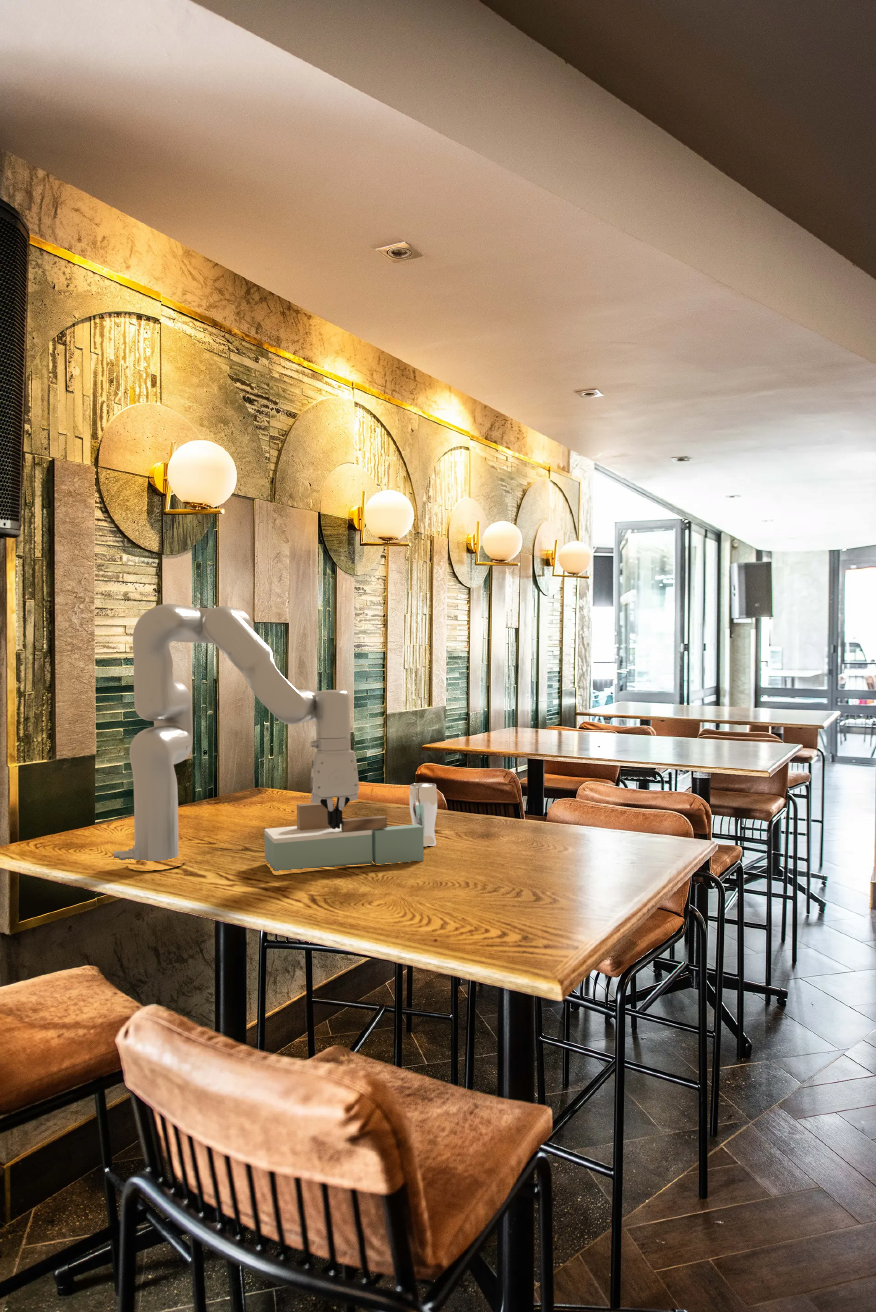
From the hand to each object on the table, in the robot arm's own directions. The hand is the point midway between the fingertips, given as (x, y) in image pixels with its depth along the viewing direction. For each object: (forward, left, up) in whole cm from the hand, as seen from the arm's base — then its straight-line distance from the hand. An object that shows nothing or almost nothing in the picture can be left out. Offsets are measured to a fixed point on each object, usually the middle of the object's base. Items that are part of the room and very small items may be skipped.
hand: (335, 827), depth 188 cm
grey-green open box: (+3, +5, -9) cm, 11 cm away
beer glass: (+26, +14, -9) cm, 31 cm away
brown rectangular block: (+7, 0, -1) cm, 7 cm away
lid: (-3, +5, -3) cm, 7 cm away
